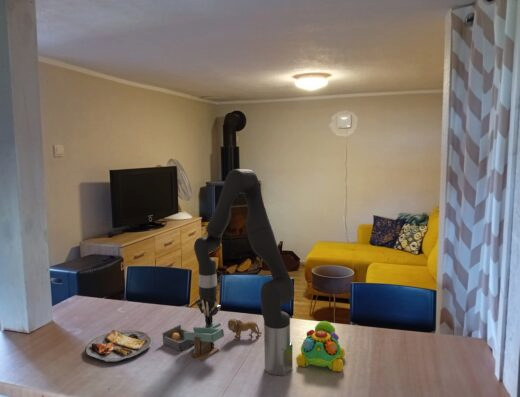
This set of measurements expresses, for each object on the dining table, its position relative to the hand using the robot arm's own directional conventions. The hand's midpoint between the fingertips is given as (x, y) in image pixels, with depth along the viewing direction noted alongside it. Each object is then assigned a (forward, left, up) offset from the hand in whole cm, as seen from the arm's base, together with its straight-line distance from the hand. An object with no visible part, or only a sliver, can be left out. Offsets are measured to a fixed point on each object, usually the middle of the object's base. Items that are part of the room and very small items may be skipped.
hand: (208, 324), depth 170 cm
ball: (+10, +9, -5) cm, 15 cm away
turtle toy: (-45, -15, -7) cm, 48 cm away
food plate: (+25, +26, -8) cm, 37 cm away
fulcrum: (-6, +9, -7) cm, 13 cm away
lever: (-6, +4, -1) cm, 7 cm away
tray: (+8, +9, -7) cm, 14 cm away
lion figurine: (-10, -10, -7) cm, 16 cm away
